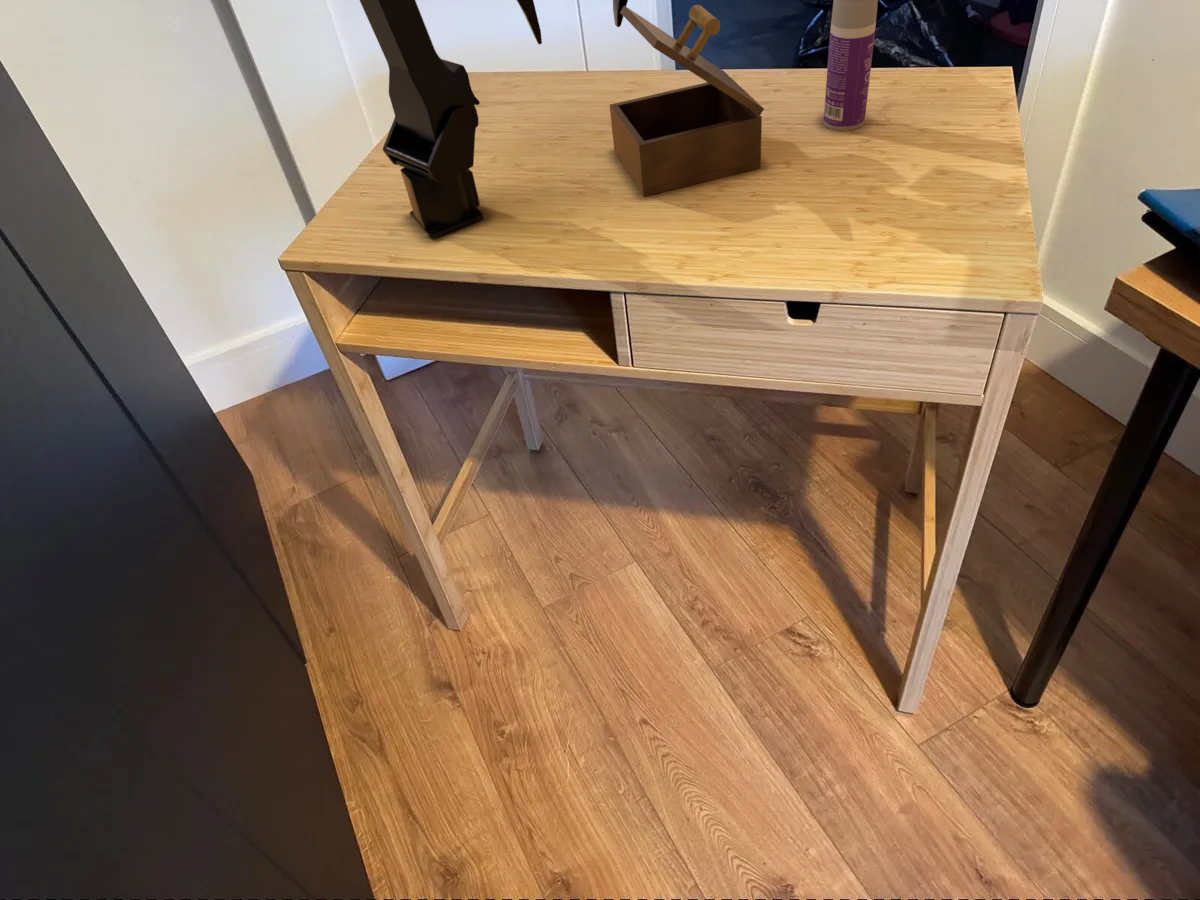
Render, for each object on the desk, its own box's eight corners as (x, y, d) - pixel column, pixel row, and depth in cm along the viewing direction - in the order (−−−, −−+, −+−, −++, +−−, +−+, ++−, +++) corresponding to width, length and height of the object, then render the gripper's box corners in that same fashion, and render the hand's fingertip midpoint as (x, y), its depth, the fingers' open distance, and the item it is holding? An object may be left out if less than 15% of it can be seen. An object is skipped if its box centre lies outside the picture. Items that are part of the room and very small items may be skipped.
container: (868, 128, 94) (885, -15, 83) (826, 133, 94) (838, -10, 84) (860, 111, 97) (875, -29, 87) (819, 115, 98) (830, -24, 87)
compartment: (643, 196, 89) (639, 145, 85) (614, 153, 97) (609, 104, 93) (760, 168, 90) (762, 116, 86) (722, 127, 98) (722, 78, 94)
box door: (653, 47, 79) (682, -4, 76) (619, 12, 87) (645, -35, 84) (759, 115, 86) (789, 71, 84) (720, 77, 94) (746, 36, 92)
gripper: (624, -161, 88) (637, -3, 99) (455, -128, 86) (486, 30, 97) (656, -145, 80) (666, 25, 91) (470, -108, 78) (503, 61, 89)
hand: (578, 34), depth 92 cm, fingers open, 9 cm apart
